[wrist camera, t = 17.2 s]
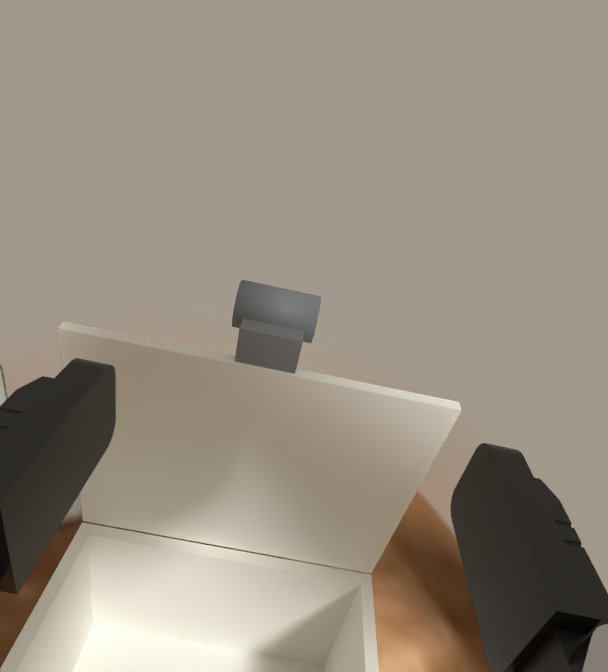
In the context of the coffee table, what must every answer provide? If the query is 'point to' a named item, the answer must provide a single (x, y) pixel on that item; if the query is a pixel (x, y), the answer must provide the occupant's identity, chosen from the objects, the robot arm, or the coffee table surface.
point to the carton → (193, 611)
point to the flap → (257, 440)
